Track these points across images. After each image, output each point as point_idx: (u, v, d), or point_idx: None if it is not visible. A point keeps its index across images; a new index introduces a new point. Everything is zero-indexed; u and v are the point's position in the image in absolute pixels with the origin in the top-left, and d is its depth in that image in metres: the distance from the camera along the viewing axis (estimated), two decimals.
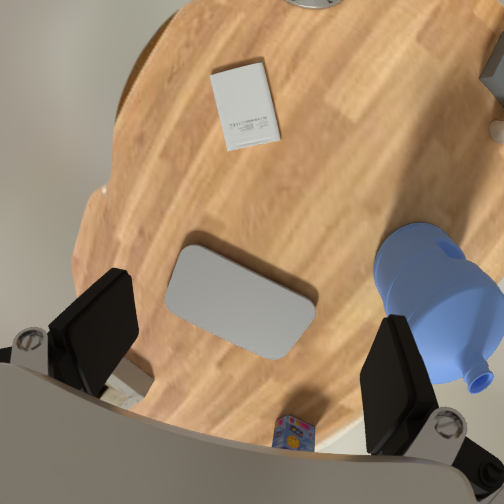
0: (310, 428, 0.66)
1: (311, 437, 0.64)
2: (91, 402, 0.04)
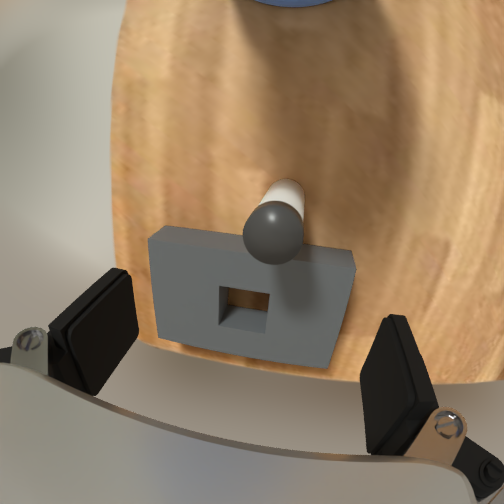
0: None
1: None
2: (91, 401, 0.04)
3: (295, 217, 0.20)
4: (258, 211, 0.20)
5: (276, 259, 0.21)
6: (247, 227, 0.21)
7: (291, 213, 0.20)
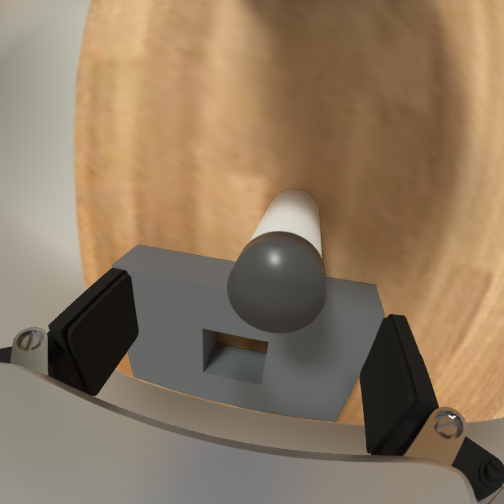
0: None
1: None
2: (91, 401, 0.04)
3: (314, 264, 0.12)
4: (252, 253, 0.12)
5: (280, 326, 0.13)
6: (234, 278, 0.13)
7: (308, 257, 0.12)
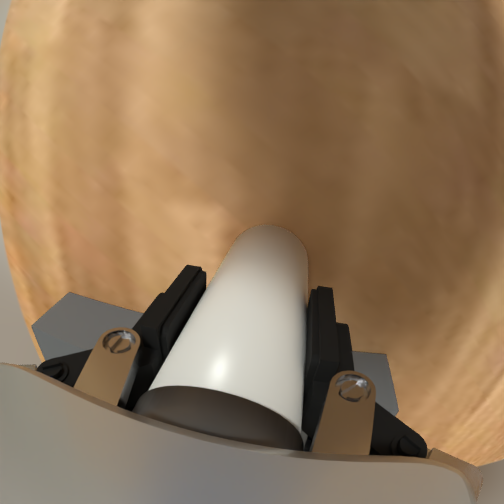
0: None
1: None
2: (91, 401, 0.04)
3: None
4: None
5: None
6: None
7: None
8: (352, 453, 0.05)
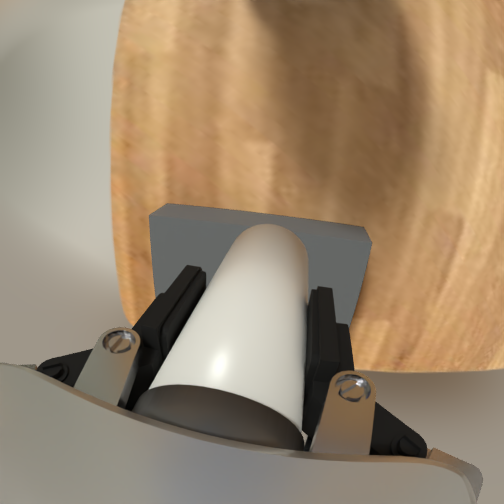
0: None
1: None
2: (91, 401, 0.04)
3: None
4: None
5: None
6: None
7: None
8: (352, 453, 0.05)
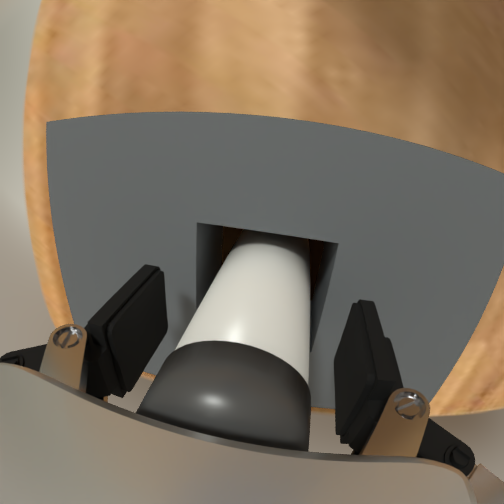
0: None
1: None
2: (91, 401, 0.04)
3: (287, 430, 0.05)
4: (160, 406, 0.05)
5: None
6: None
7: (273, 420, 0.05)
8: None
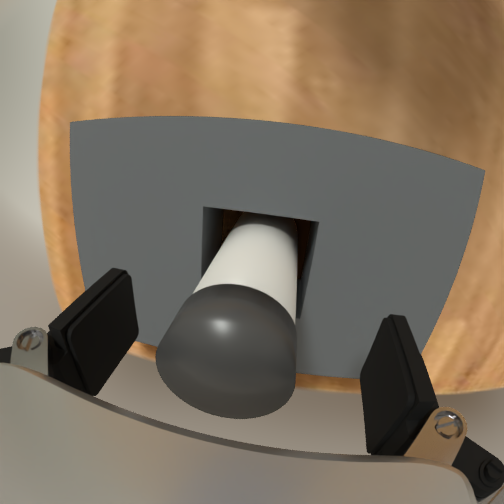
0: None
1: None
2: (91, 402, 0.04)
3: (277, 343, 0.08)
4: (183, 327, 0.08)
5: (234, 411, 0.09)
6: (163, 355, 0.08)
7: (267, 334, 0.08)
8: None
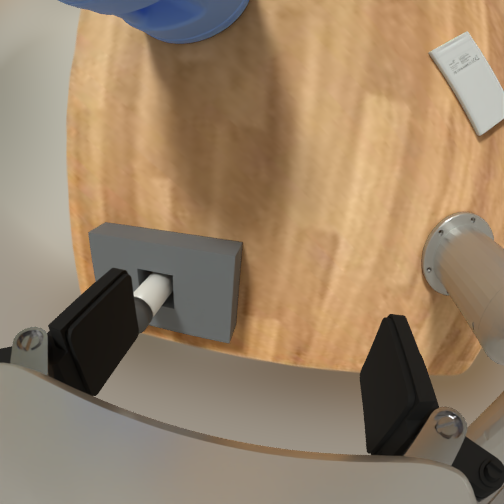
0: None
1: None
2: (90, 401, 0.04)
3: (139, 310, 0.33)
4: None
5: None
6: None
7: (137, 308, 0.33)
8: None
